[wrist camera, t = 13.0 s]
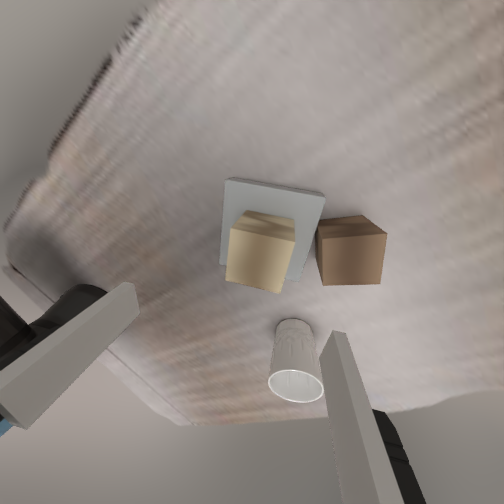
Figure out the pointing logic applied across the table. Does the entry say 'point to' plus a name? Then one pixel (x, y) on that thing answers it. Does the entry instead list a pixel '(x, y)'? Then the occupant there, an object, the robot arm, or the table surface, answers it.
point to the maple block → (260, 250)
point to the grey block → (273, 203)
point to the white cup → (295, 363)
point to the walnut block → (349, 251)
